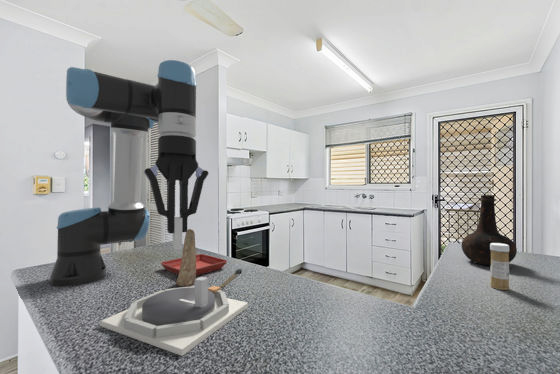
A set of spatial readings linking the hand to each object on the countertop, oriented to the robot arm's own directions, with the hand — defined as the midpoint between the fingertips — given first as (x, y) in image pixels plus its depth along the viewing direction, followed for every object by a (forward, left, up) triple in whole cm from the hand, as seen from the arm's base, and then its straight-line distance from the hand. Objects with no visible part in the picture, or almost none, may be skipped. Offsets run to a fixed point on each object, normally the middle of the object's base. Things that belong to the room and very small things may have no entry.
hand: (177, 248), depth 57 cm
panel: (-5, +5, -18) cm, 19 cm away
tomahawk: (-8, +31, -18) cm, 36 cm away
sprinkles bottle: (+69, +61, -18) cm, 94 cm away
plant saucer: (-29, +35, -18) cm, 49 cm away
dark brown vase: (+73, +93, -18) cm, 120 cm away
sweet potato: (-20, +22, -18) cm, 35 cm away
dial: (-5, +5, -16) cm, 18 cm away
